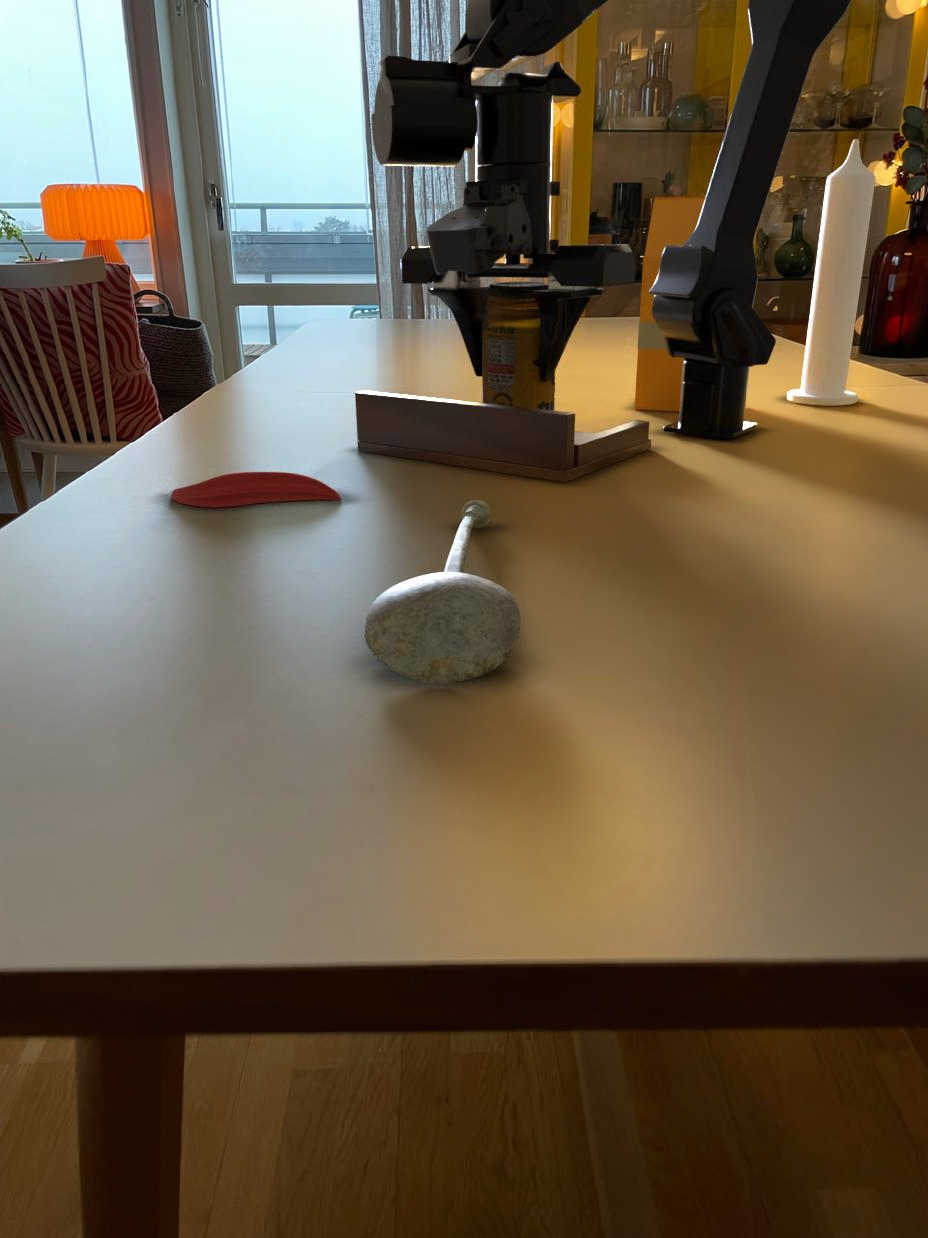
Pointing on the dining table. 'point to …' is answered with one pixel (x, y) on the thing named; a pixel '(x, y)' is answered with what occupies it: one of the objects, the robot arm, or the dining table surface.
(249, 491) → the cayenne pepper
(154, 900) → the dining table surface
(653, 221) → the orange juice
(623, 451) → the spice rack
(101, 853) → the dining table surface
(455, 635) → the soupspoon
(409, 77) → the robot arm
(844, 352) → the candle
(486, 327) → the condiment
